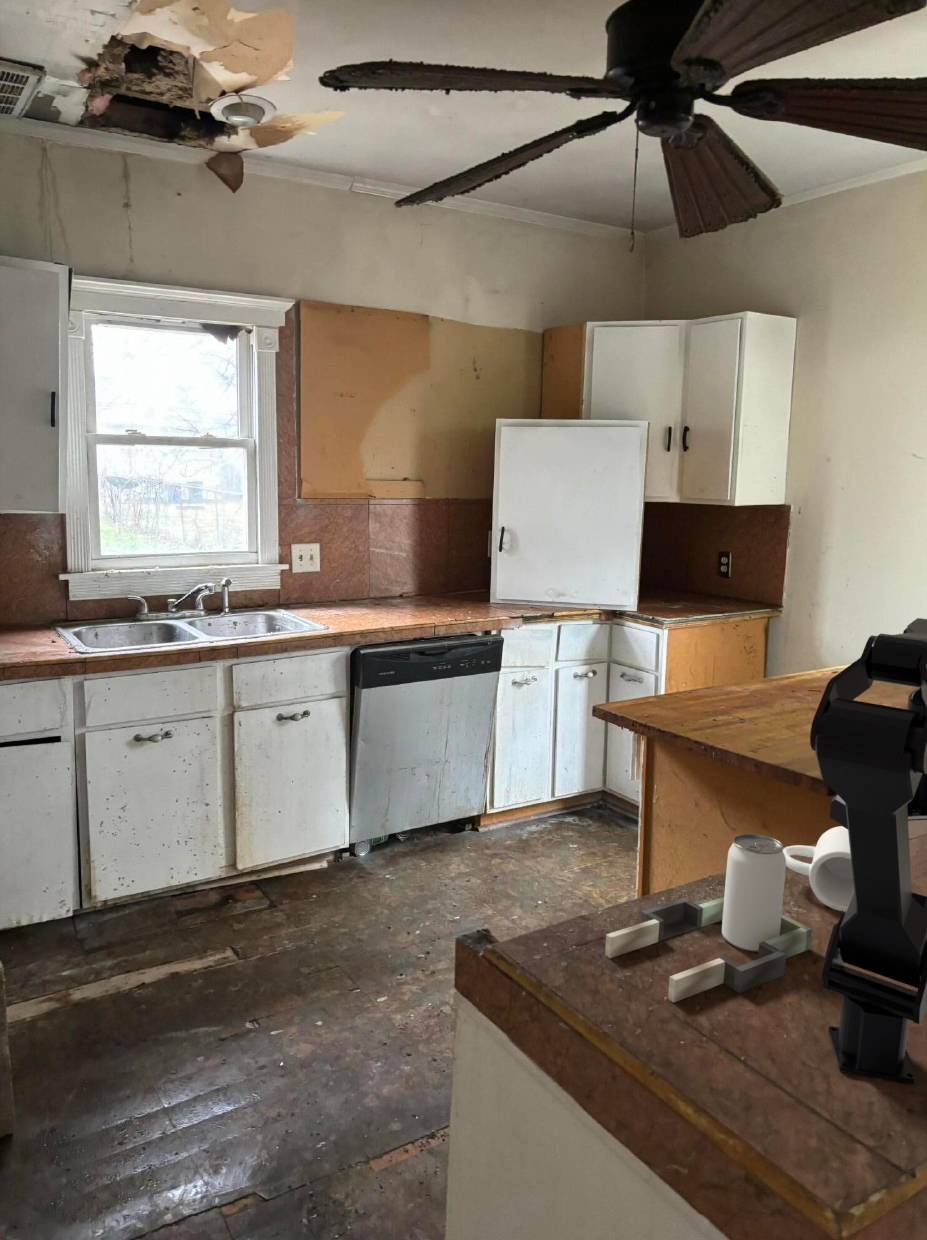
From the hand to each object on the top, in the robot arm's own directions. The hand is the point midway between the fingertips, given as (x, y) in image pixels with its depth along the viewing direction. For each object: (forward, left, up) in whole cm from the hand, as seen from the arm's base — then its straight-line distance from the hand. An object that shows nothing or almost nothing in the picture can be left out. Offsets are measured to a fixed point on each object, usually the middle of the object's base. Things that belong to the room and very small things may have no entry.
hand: (917, 889), depth 91 cm
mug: (+24, +4, -12) cm, 27 cm away
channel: (+4, +20, -12) cm, 24 cm away
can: (+8, +15, -12) cm, 21 cm away
